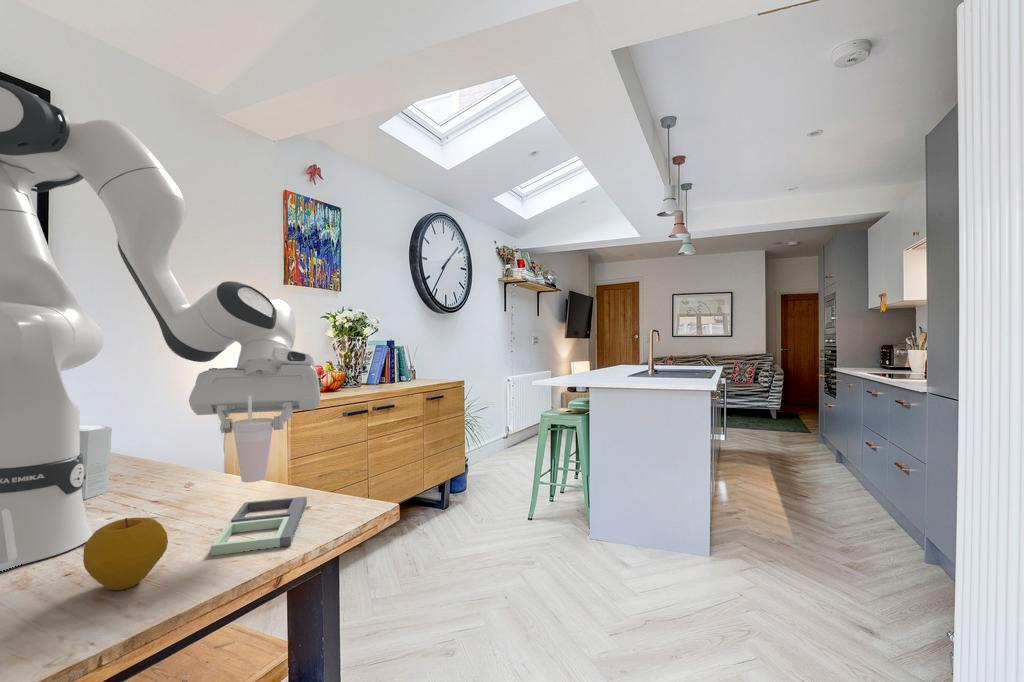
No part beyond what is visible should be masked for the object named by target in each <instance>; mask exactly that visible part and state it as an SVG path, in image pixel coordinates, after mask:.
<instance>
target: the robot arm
mask: <svg viewBox="0 0 1024 682" xmlns="http://www.w3.org/2000/svg"><path fill="white" fill-rule="evenodd" d="M82 180H84V181H86V183H87V184H89V186H90V187H91V189H92V190H93V191H94V192H95V194H96V196H98V197H99V199H100V200H101V202H102V203H103V204H104V206H105V208H106V210H107V212H108V213H109V216H110V218H111V220H112V223H113V227H114V228H115V233H116V237H117V249H118V252H119V254H120V257H121V259H122V261H123V263H124V265H125V266H126V269H127V270H128V272H129V274H130V276H131V278H132V279H133V281H134V282H135V284H136V286H137V287H138V289H139V290H140V292H141V294H142V296H143V298H144V299H145V301H146V302H147V304H148V306H149V308H150V310H151V311H152V313H153V315H154V317H155V319H156V321H157V323H158V324H159V328H160V330H161V334H162V337H163V339H164V342H165V343H166V345H167V347H168V348H169V349H170V351H171V352H172V353H174V354H175V355H176V356H178V357H180V358H182V359H185V360H187V361H191V362H196V363H206V362H210V361H212V360H214V359H216V357H218V356H219V355H220V354H221V353H223V352H224V351H225V350H226V349H227V348H228V347H229V346H231V345H232V344H234V343H235V342H236V343H239V344H240V347H241V348H240V352H239V355H238V360H237V363H236V367H221V368H217V367H211V368H208V369H207V370H204V371H201V372H199V373H198V375H197V376H196V380H195V385H194V386H193V389H192V391H191V392H190V395H189V398H188V403H189V406H190V408H191V410H192V411H193V413H195V415H197V416H207V415H209V416H211V415H217V416H218V419H219V420H220V425H219V430H220V433H221V434H229V433H230V434H231V433H233V432H234V430H232V429H231V428H232V423H233V422H234V421H233V419H232V418H229V417H230V414H248V396H252V413H267V412H281V413H280V414H279V415H277V416H276V415H275V416H273V418H272V419H273V420H274V421H273V430H274V431H280V430H281V431H283V430H284V429H285V423H286V422H287V421H288V420H289V419H290V418H291V416H293V413H294V411H308V410H312V411H313V410H316V409H317V408H318V407H319V406H320V405H321V390H320V383H319V375H318V372H317V370H316V365H315V361H314V358H313V357H314V356H313V355H311V353H310V354H309V353H306V352H300V351H297V350H292V349H293V348H294V344H295V339H296V331H297V330H296V319H295V314H294V312H293V309H292V307H291V306H289V304H287V303H286V302H285V301H283V300H281V299H279V298H275V297H267V296H266V295H264V293H263V292H261V291H259V290H258V289H256V288H254V287H252V286H251V285H248V284H246V283H242V282H239V281H223V282H221V283H220V284H218V285H217V286H215V287H213V288H212V289H211V290H209V291H208V292H207V293H205V294H204V295H202V297H200V298H199V299H198V300H196V301H195V302H193V303H192V304H190V302H189V301H188V300H189V299H188V298H187V297H186V294H185V293H184V291H183V290H182V288H181V286H180V284H179V282H178V280H177V279H176V277H175V275H174V274H173V271H172V270H171V267H170V254H171V253H170V252H171V250H172V246H173V244H174V241H175V239H176V236H177V235H178V233H179V231H180V230H181V228H182V226H183V224H184V221H185V219H186V218H185V217H186V210H187V208H186V207H187V205H186V201H185V198H184V195H183V193H182V191H181V190H180V188H179V187H178V185H177V184H176V182H175V181H174V179H173V178H172V176H171V175H170V174H169V173H168V172H167V170H166V168H165V167H164V166H163V165H162V163H161V162H160V161H159V160H158V159H157V157H156V156H155V155H154V154H153V153H152V152H151V150H150V149H149V148H148V147H147V146H146V145H145V144H144V143H143V142H142V141H141V140H140V139H139V138H138V137H137V136H136V135H135V134H134V133H133V132H132V131H131V130H130V129H129V128H127V127H126V126H124V125H123V124H120V123H118V122H116V121H112V120H109V119H108V120H107V119H94V120H91V121H86V122H82V123H80V122H79V123H78V122H74V121H71V120H70V119H69V118H68V116H67V113H66V111H64V110H63V109H61V108H59V107H57V106H56V105H54V104H51V103H50V102H48V101H46V100H44V99H42V98H40V97H39V96H37V95H35V94H34V93H31V92H30V91H28V90H26V89H24V88H22V87H20V86H17V85H15V84H13V83H10V82H8V81H5V80H2V79H0V571H2V572H4V571H3V570H5V571H7V570H6V569H8V570H10V569H9V568H11V569H13V568H16V567H18V565H19V566H21V564H22V565H26V564H28V563H32V562H36V561H39V560H40V561H41V560H43V559H47V558H50V557H53V556H57V555H60V554H62V553H65V552H68V551H70V550H72V549H74V548H77V547H79V546H82V545H83V544H84V543H85V544H86V543H87V541H88V540H89V538H90V537H91V536H92V535H93V534H94V532H93V531H92V528H91V526H90V523H89V520H88V517H87V513H86V510H85V504H84V500H83V497H82V489H81V488H82V486H83V478H84V467H83V454H81V453H80V426H81V423H80V422H81V421H80V408H79V406H78V405H77V403H76V402H75V401H74V400H72V398H71V396H70V395H69V392H68V390H67V388H66V385H65V382H64V379H63V375H62V372H64V371H68V370H72V369H75V368H77V367H79V366H83V365H84V364H87V363H88V362H90V361H92V360H93V359H94V358H95V357H97V356H98V355H99V353H100V352H101V350H102V348H103V346H104V333H103V331H102V329H101V327H100V326H99V325H98V324H97V322H95V321H94V320H93V319H92V318H91V317H90V316H89V314H87V313H86V311H85V310H84V309H83V307H82V306H81V304H80V303H79V301H78V299H77V298H76V296H75V294H74V293H73V291H72V290H71V288H70V287H69V285H68V284H67V282H66V281H65V279H64V278H63V276H62V274H61V273H60V271H59V268H58V267H57V265H56V263H55V261H54V258H53V256H52V253H51V250H50V248H49V245H48V242H47V240H46V237H45V234H44V232H43V229H42V226H41V223H40V220H39V218H38V214H37V212H36V210H35V206H34V203H33V200H32V196H31V192H32V191H33V192H36V193H45V192H49V191H51V190H54V189H56V188H60V187H61V188H63V187H66V186H72V185H74V184H76V183H77V184H78V183H79V182H80V181H82ZM15 566H16V567H15ZM12 567H13V568H12Z"/></svg>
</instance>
